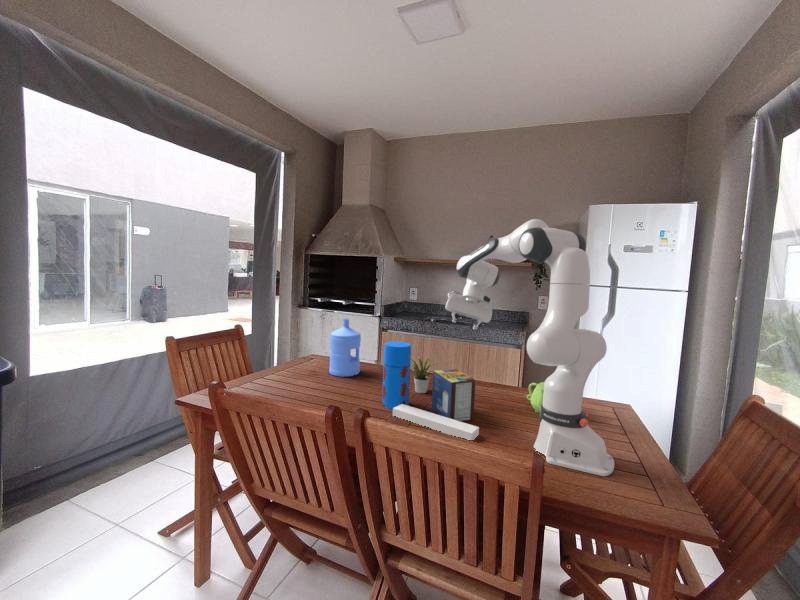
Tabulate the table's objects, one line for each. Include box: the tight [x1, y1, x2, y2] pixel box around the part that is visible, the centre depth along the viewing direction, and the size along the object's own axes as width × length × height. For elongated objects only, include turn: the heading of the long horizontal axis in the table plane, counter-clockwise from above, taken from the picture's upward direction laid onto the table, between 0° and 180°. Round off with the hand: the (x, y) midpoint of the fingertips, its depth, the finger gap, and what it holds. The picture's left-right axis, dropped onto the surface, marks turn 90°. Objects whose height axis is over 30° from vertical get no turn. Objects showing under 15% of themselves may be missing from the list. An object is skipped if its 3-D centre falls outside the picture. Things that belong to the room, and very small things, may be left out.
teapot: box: [526, 381, 545, 414], centre depth 147 cm, size 16×14×13 cm
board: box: [392, 404, 480, 441], centre depth 131 cm, size 32×6×3 cm, turn 55°
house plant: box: [410, 356, 438, 394], centre depth 166 cm, size 14×14×16 cm
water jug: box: [329, 318, 362, 378], centre depth 189 cm, size 16×16×28 cm
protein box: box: [431, 368, 476, 422], centre depth 141 cm, size 10×15×16 cm
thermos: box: [382, 341, 412, 410], centre depth 148 cm, size 11×11×25 cm
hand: (464, 325), depth 156 cm, fingers open, 8 cm apart
